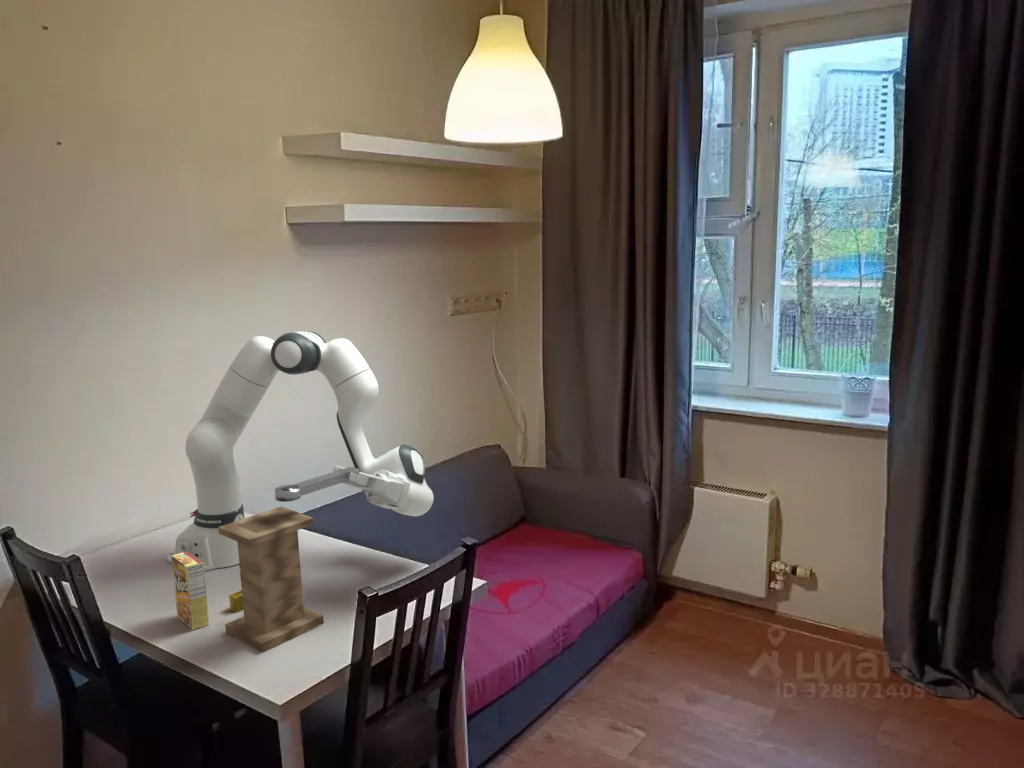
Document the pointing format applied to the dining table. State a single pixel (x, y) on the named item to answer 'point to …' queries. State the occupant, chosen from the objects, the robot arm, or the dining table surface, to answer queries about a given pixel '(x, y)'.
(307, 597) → the dining table surface
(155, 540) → the dining table surface
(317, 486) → the spanner
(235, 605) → the medication box
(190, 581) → the candy box
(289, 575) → the stand
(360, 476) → the robot arm
